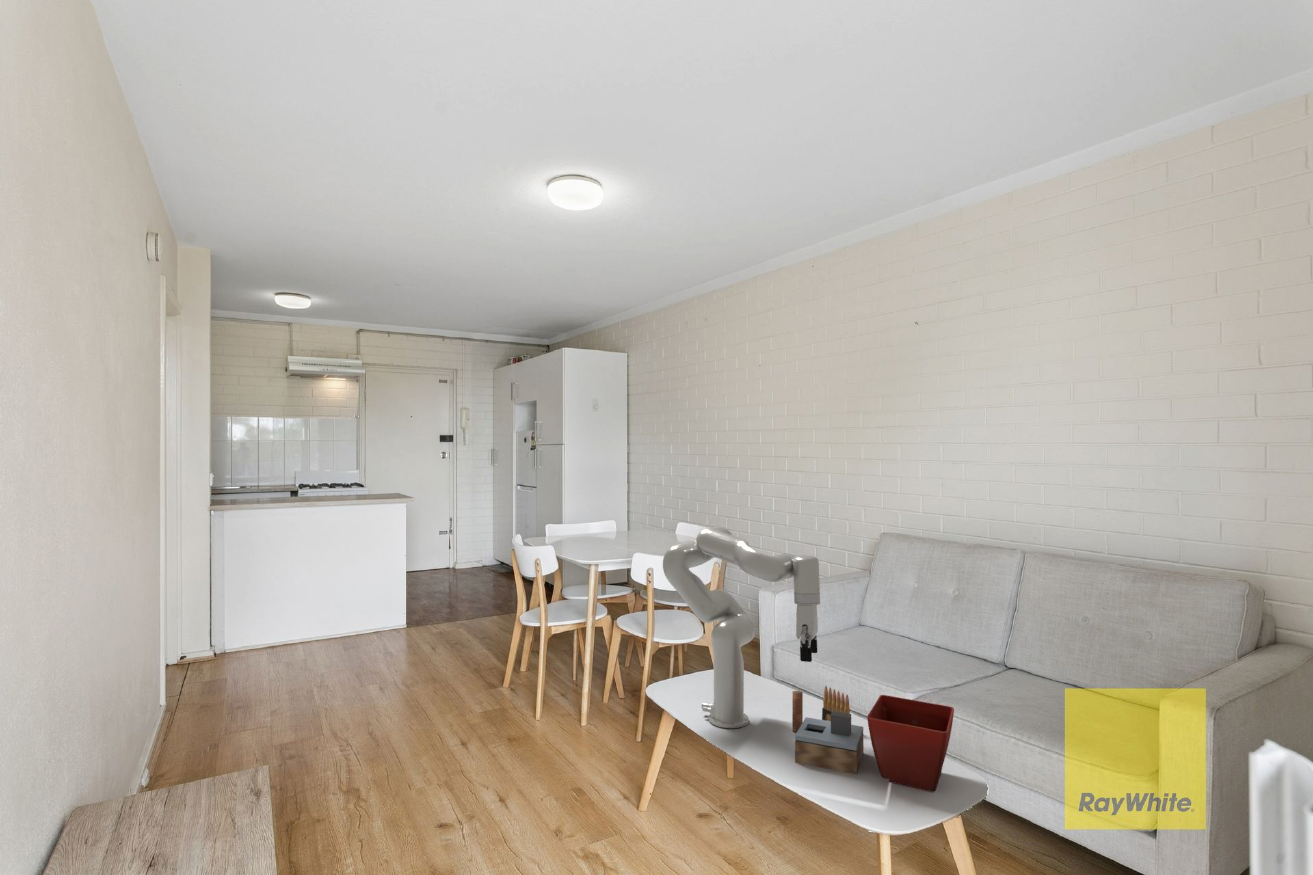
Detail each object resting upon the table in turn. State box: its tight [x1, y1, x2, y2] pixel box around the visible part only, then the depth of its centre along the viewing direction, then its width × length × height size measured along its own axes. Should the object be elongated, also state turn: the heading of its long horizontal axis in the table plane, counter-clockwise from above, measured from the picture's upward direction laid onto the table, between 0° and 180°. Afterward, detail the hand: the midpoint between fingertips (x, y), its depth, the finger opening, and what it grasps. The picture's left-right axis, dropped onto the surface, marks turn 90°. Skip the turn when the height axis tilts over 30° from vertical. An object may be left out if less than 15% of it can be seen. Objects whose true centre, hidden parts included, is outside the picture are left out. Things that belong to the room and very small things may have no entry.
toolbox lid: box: [794, 711, 864, 751], centre depth 182 cm, size 16×14×6 cm
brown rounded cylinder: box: [791, 690, 804, 734], centre depth 200 cm, size 3×3×12 cm
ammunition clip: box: [821, 685, 851, 721], centre depth 204 cm, size 11×2×12 cm, turn 30°
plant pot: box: [866, 694, 955, 793], centre depth 173 cm, size 19×19×17 cm
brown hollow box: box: [794, 728, 865, 776], centre depth 182 cm, size 16×14×7 cm
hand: (809, 656), depth 196 cm, fingers open, 9 cm apart
